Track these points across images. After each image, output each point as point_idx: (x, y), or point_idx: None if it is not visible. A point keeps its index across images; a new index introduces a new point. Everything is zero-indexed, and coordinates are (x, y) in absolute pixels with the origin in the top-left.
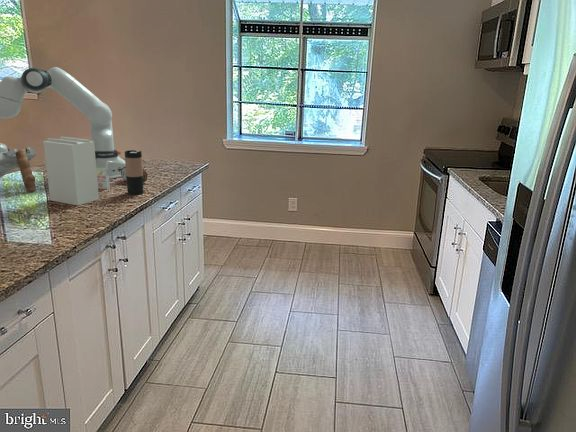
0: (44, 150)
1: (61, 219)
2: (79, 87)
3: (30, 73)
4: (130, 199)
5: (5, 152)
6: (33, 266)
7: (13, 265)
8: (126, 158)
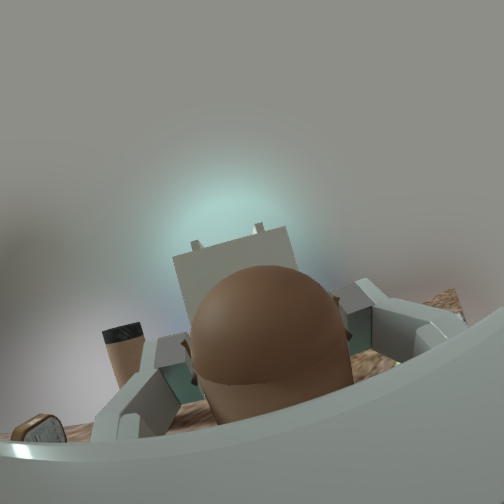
0: (295, 262)
1: (381, 357)
2: None
3: None
4: (208, 406)
5: (477, 326)
6: (435, 298)
7: (450, 296)
8: (141, 338)
